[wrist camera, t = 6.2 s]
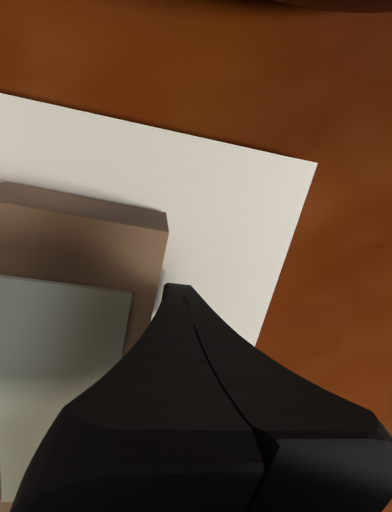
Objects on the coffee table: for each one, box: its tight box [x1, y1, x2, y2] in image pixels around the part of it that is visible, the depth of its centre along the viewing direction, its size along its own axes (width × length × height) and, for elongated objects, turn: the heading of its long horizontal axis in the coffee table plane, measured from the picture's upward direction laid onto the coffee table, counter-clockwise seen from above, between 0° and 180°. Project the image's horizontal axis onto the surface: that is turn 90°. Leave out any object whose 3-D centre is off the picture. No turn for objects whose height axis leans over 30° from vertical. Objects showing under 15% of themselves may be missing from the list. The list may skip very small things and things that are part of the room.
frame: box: [0, 182, 169, 512], centre depth 11 cm, size 5×15×3 cm, turn 167°
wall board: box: [0, 93, 318, 347], centre depth 12 cm, size 16×20×1 cm
